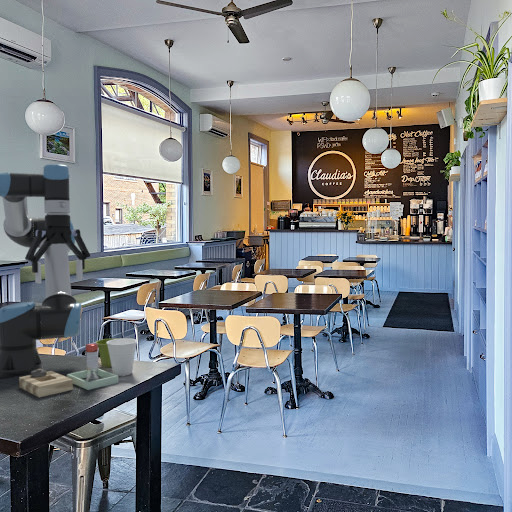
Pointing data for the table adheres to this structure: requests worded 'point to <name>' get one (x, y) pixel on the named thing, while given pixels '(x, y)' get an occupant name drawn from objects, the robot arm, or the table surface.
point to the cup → (122, 355)
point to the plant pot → (104, 352)
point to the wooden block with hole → (45, 383)
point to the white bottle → (92, 362)
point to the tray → (107, 380)
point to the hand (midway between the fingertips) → (59, 281)
